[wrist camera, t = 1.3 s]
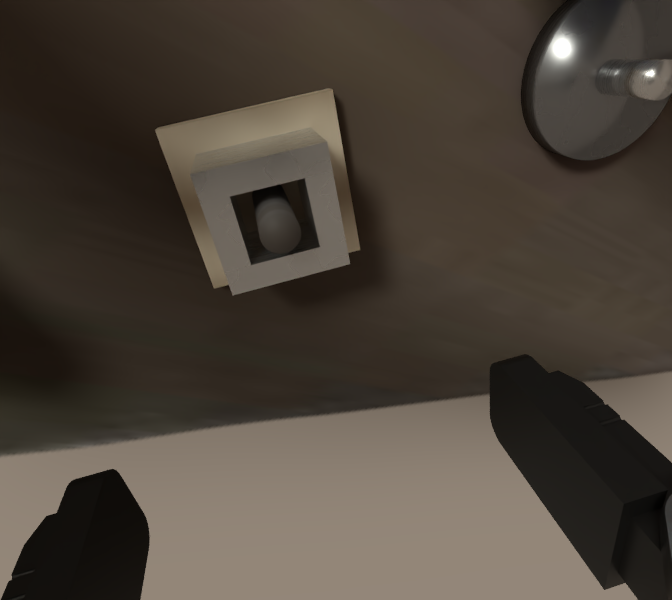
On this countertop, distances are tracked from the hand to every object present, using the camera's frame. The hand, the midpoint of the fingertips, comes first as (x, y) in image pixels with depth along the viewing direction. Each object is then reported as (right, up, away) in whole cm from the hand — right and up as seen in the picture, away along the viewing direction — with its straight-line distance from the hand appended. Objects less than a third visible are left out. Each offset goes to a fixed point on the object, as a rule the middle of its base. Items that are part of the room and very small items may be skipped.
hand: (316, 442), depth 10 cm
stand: (-4, +9, +16) cm, 19 cm away
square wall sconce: (-3, +9, +15) cm, 18 cm away
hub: (+15, +16, +17) cm, 28 cm away
